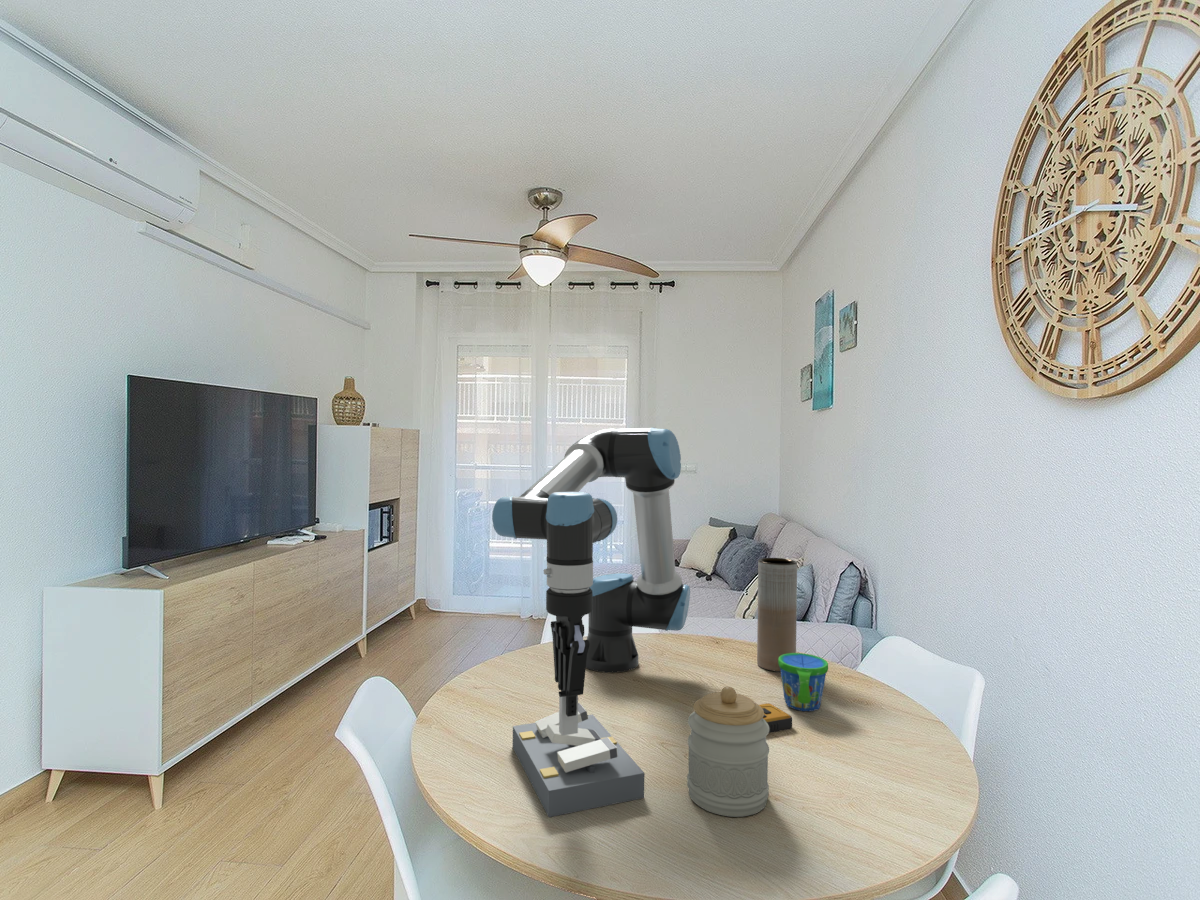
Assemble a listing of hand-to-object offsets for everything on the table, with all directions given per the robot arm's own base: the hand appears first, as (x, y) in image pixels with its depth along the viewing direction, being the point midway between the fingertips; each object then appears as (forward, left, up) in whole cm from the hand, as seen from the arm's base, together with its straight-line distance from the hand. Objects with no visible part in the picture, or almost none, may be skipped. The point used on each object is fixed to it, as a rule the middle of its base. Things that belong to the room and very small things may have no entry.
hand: (568, 732), depth 102 cm
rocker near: (0, +3, -4) cm, 5 cm away
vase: (-41, +71, -10) cm, 83 cm away
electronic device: (-12, +43, -11) cm, 46 cm away
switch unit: (-7, +3, -10) cm, 12 cm away
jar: (+9, +24, -10) cm, 28 cm away
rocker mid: (-7, +3, -4) cm, 8 cm away
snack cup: (-17, +60, -10) cm, 63 cm away
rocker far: (-14, +3, -4) cm, 15 cm away
